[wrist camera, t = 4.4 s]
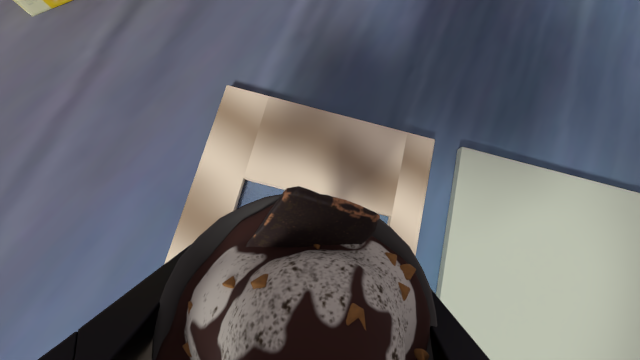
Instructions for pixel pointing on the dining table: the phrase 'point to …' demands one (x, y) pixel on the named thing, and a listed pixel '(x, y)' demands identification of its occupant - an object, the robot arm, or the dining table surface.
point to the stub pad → (541, 262)
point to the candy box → (39, 5)
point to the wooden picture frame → (305, 163)
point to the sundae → (296, 287)
